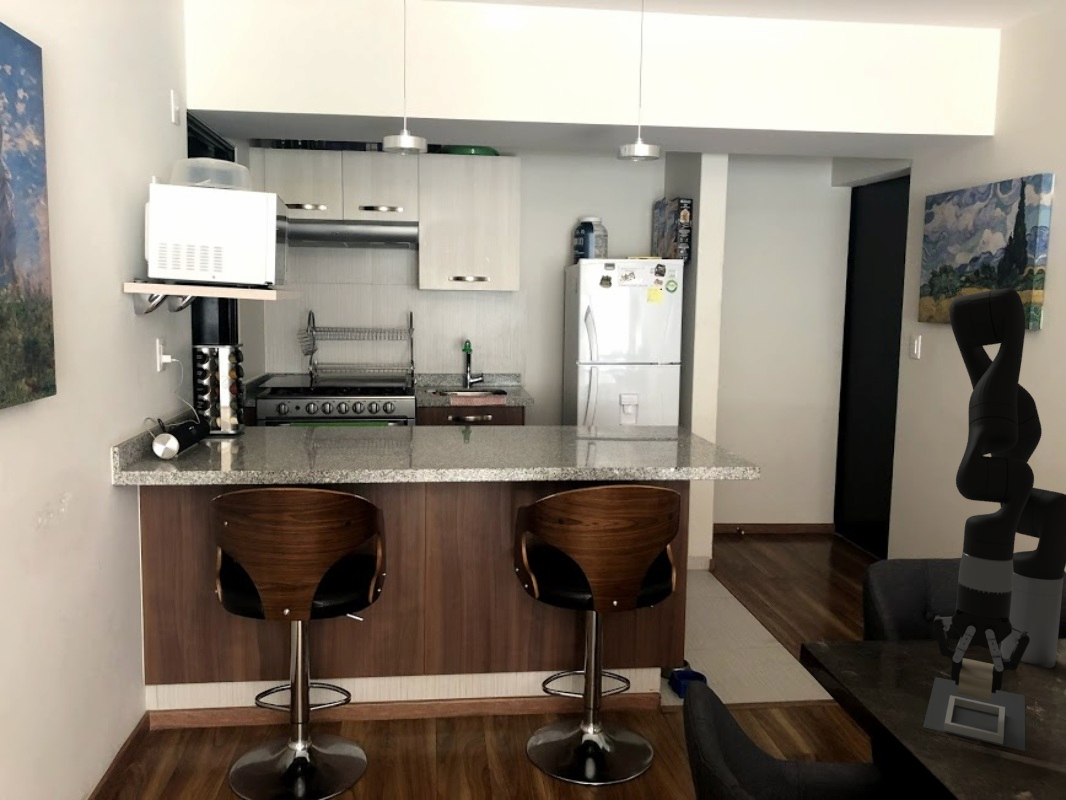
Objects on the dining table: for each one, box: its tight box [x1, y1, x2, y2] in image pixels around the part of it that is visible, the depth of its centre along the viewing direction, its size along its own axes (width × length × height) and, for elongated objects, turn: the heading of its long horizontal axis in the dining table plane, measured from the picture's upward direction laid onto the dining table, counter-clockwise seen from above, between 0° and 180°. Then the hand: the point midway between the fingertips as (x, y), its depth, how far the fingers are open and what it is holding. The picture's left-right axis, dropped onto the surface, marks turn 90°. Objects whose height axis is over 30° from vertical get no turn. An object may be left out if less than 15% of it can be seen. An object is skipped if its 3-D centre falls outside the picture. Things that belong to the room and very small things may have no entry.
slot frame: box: [944, 695, 1005, 744], centre depth 138 cm, size 12×8×1 cm
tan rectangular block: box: [958, 657, 994, 700], centre depth 138 cm, size 8×4×3 cm, turn 150°
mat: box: [922, 676, 1026, 757], centre depth 142 cm, size 22×14×1 cm, turn 151°
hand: (975, 686), depth 138 cm, fingers closed on tan rectangular block, 4 cm apart
